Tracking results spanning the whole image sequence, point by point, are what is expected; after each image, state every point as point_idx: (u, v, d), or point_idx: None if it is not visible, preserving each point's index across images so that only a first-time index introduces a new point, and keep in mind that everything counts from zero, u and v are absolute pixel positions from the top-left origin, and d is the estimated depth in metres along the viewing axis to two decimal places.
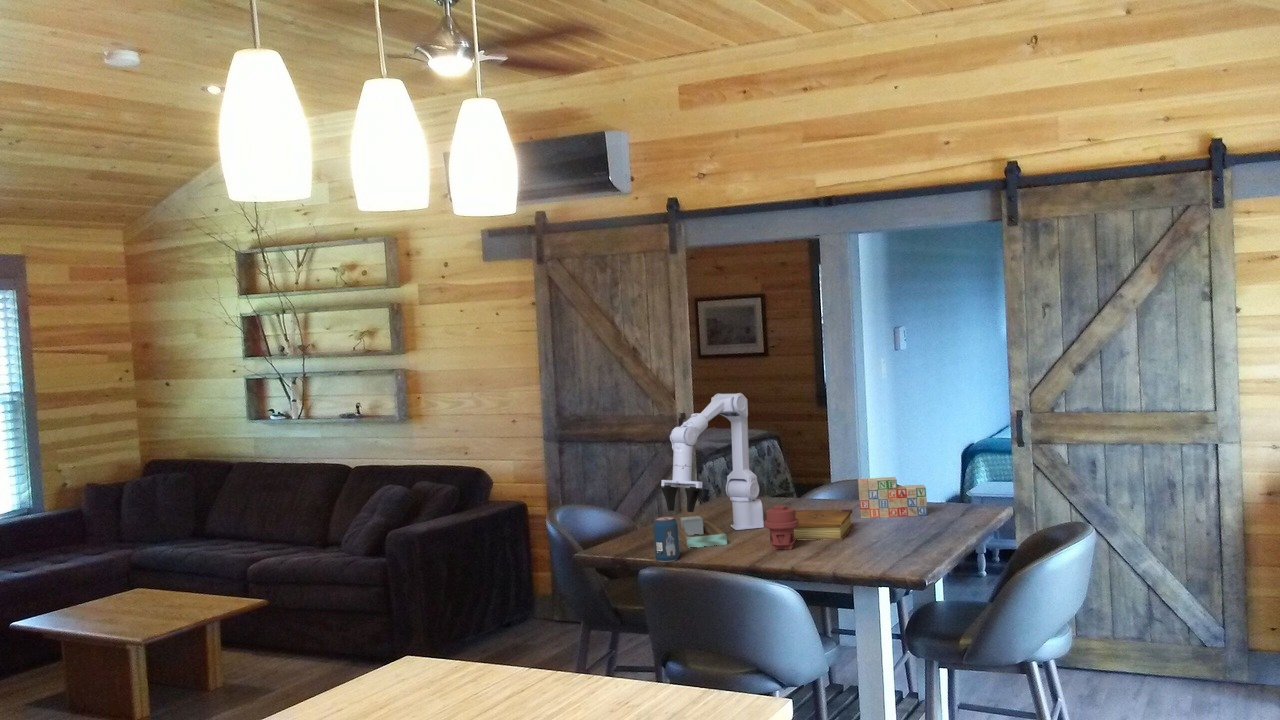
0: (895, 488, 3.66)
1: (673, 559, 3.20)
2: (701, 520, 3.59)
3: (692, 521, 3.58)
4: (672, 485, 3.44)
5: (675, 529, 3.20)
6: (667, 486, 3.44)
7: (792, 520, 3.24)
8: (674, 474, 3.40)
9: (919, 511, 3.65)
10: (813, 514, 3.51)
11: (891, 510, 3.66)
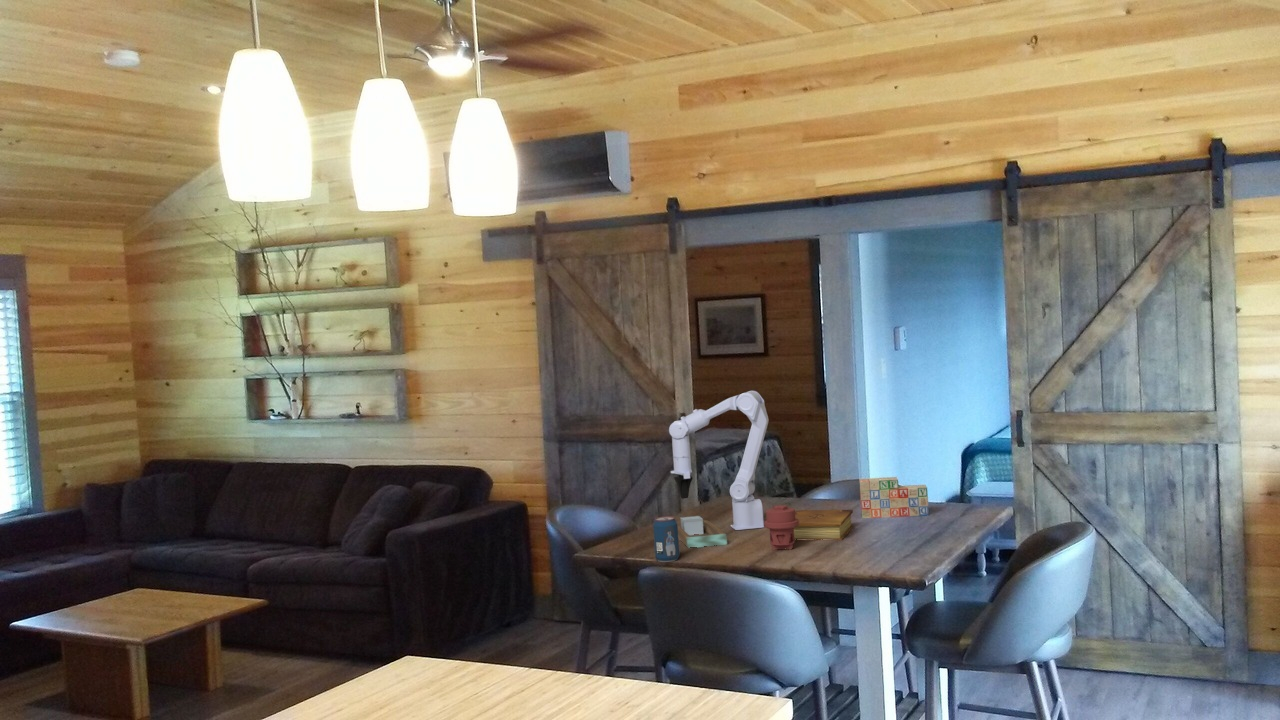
0: (896, 488, 3.65)
1: (673, 559, 3.20)
2: (701, 520, 3.59)
3: (692, 521, 3.58)
4: None
5: (675, 529, 3.20)
6: None
7: (792, 520, 3.24)
8: None
9: (920, 511, 3.64)
10: (813, 514, 3.51)
11: (893, 510, 3.66)
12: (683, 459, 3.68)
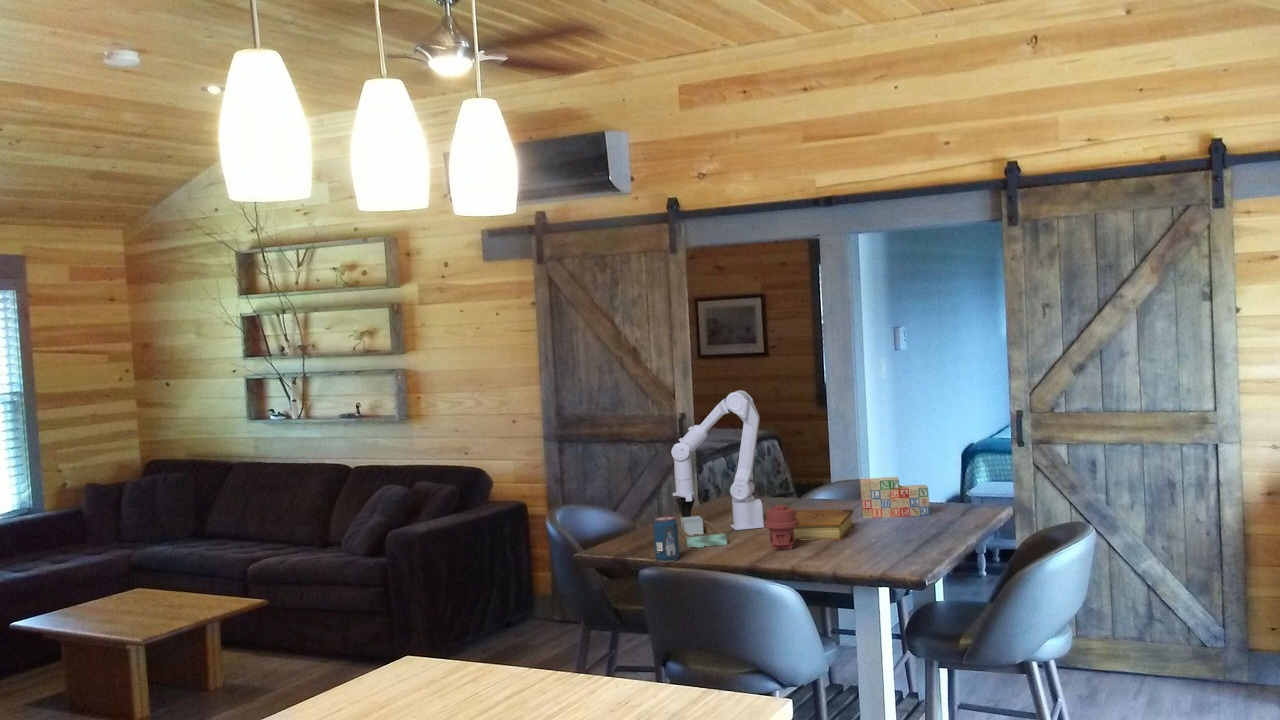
0: (897, 488, 3.65)
1: (673, 559, 3.20)
2: (701, 520, 3.59)
3: (692, 521, 3.58)
4: None
5: (675, 529, 3.20)
6: None
7: (792, 520, 3.24)
8: None
9: (921, 511, 3.64)
10: (813, 514, 3.51)
11: (894, 510, 3.66)
12: (685, 481, 3.67)
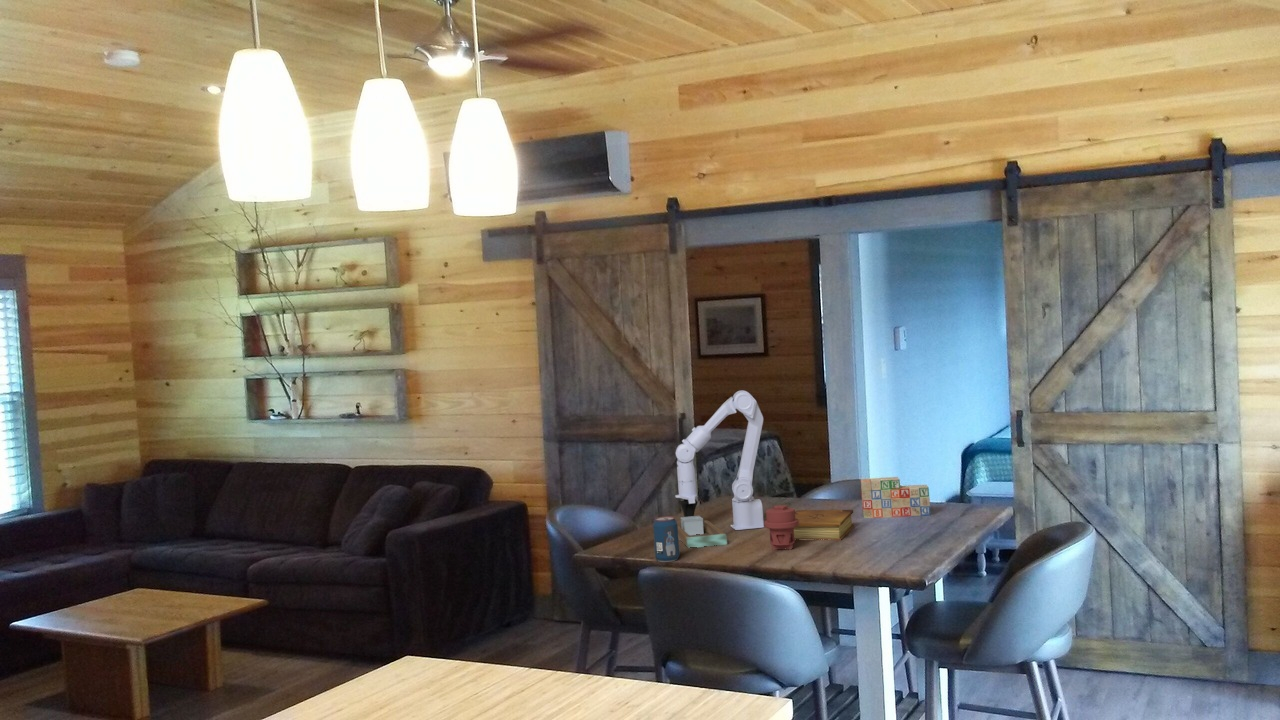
0: (898, 488, 3.65)
1: (673, 559, 3.20)
2: (701, 520, 3.58)
3: (692, 521, 3.58)
4: None
5: (675, 529, 3.20)
6: None
7: (792, 520, 3.24)
8: None
9: (922, 511, 3.64)
10: (813, 514, 3.51)
11: (894, 510, 3.66)
12: (688, 483, 3.62)
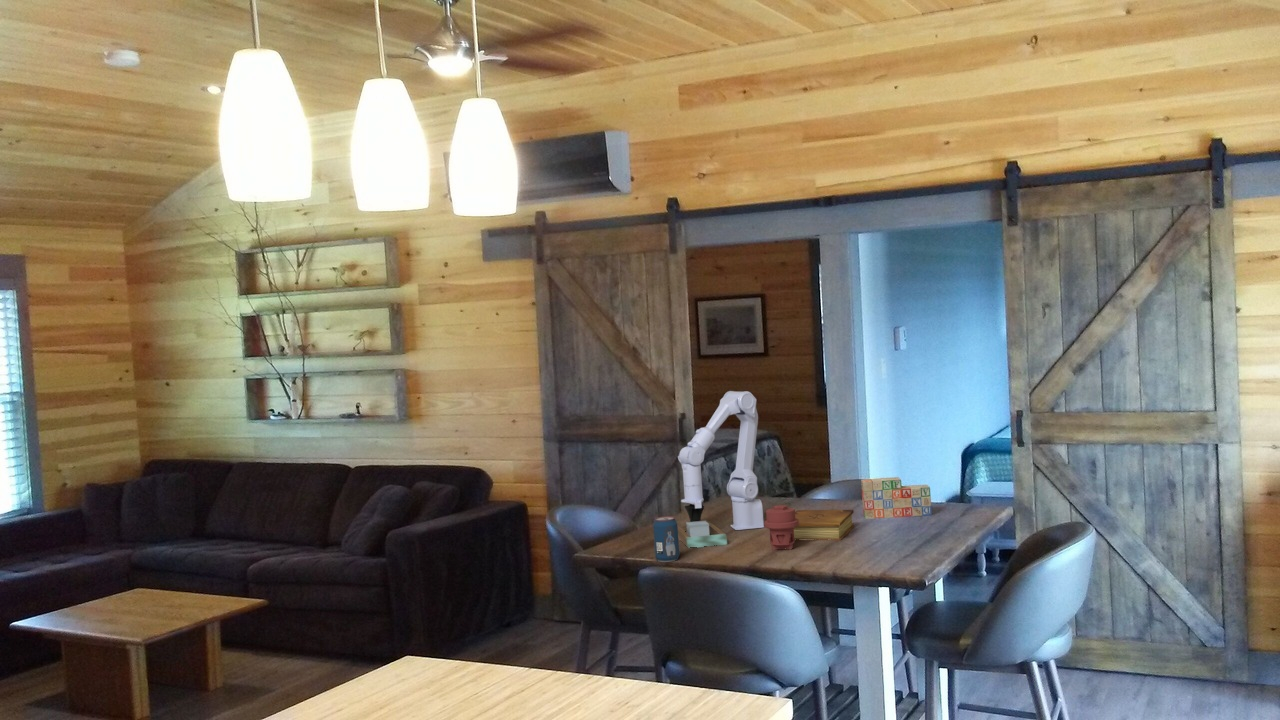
0: (900, 488, 3.65)
1: (673, 559, 3.20)
2: (707, 525, 3.48)
3: (698, 526, 3.48)
4: None
5: (675, 529, 3.20)
6: None
7: (792, 520, 3.24)
8: (684, 493, 3.55)
9: (923, 511, 3.64)
10: (814, 514, 3.51)
11: (896, 511, 3.65)
12: (694, 487, 3.52)
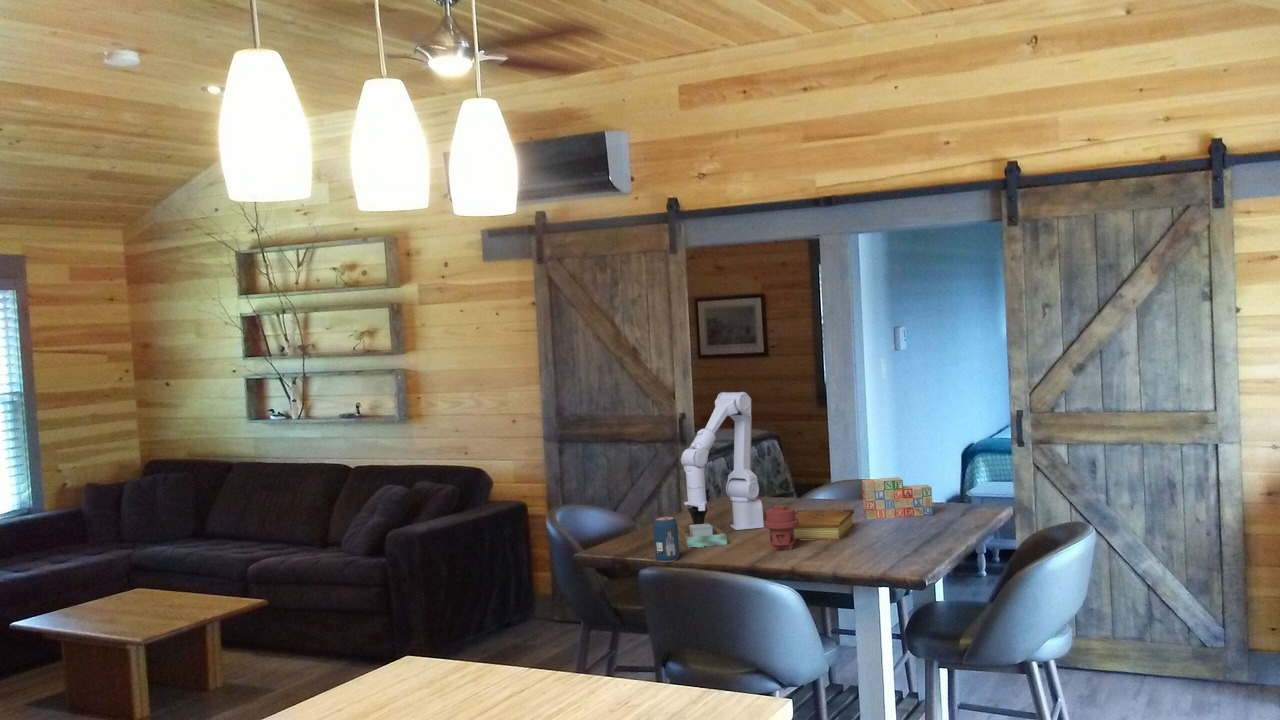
0: (901, 488, 3.64)
1: (673, 559, 3.20)
2: (711, 528, 3.43)
3: (701, 529, 3.42)
4: None
5: (675, 529, 3.20)
6: None
7: (792, 520, 3.24)
8: (687, 495, 3.50)
9: (925, 510, 3.64)
10: (814, 514, 3.51)
11: (898, 511, 3.65)
12: (697, 490, 3.47)
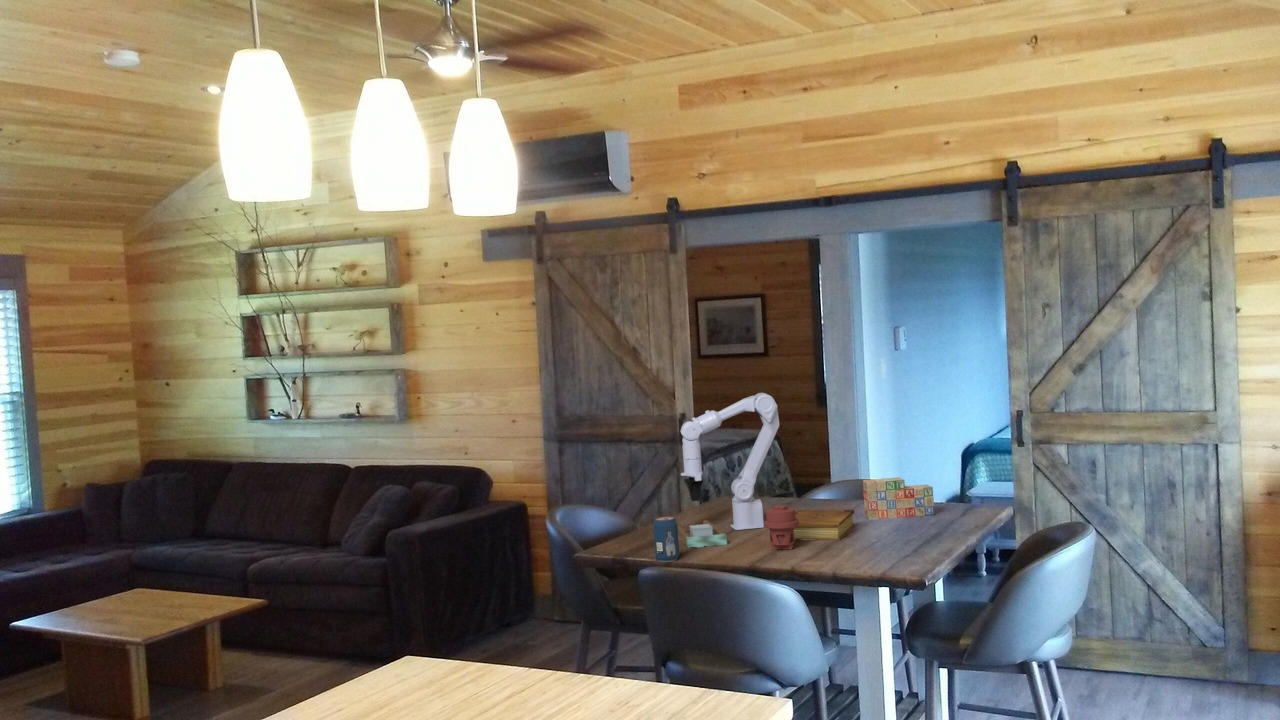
0: (903, 488, 3.64)
1: (673, 559, 3.20)
2: (711, 528, 3.43)
3: (701, 529, 3.42)
4: None
5: (675, 529, 3.20)
6: None
7: (792, 520, 3.24)
8: (684, 467, 3.64)
9: (926, 510, 3.64)
10: (814, 514, 3.51)
11: (899, 511, 3.64)
12: (694, 461, 3.61)
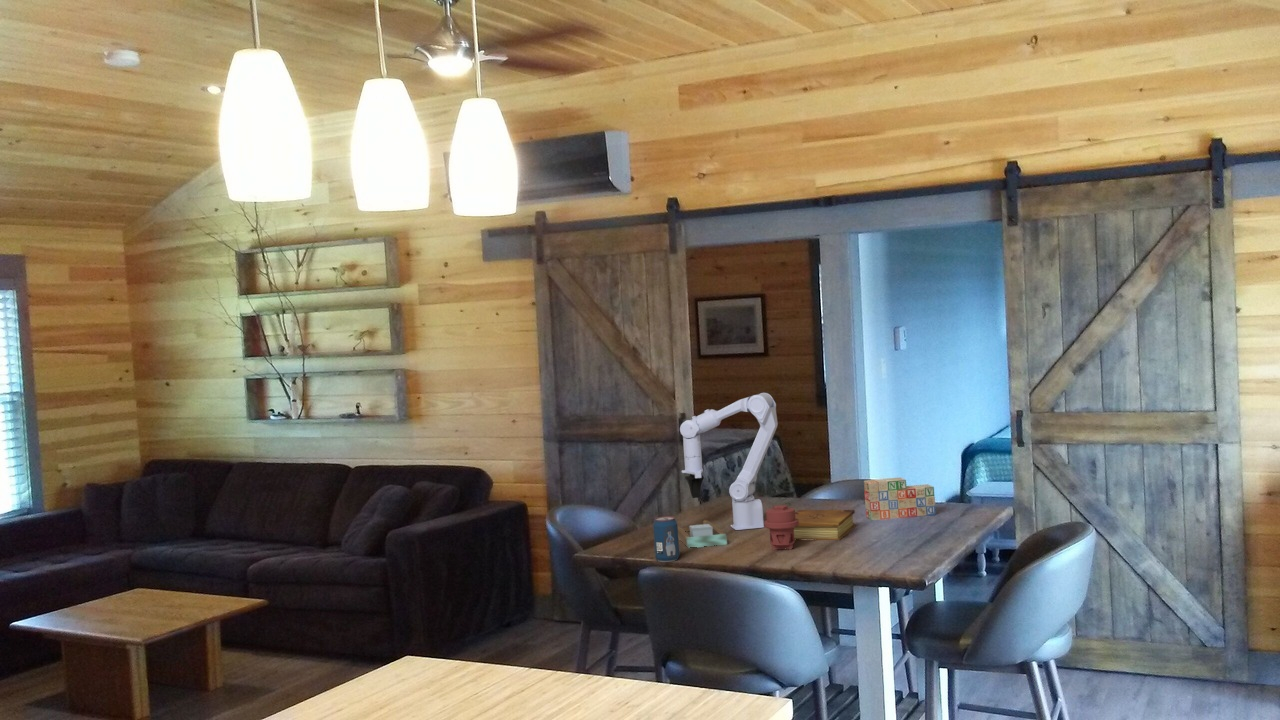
0: (904, 488, 3.64)
1: (673, 559, 3.20)
2: (711, 528, 3.43)
3: (701, 529, 3.42)
4: None
5: (675, 529, 3.20)
6: None
7: (792, 520, 3.24)
8: None
9: (927, 510, 3.64)
10: (814, 514, 3.51)
11: (901, 511, 3.64)
12: (694, 458, 3.67)
